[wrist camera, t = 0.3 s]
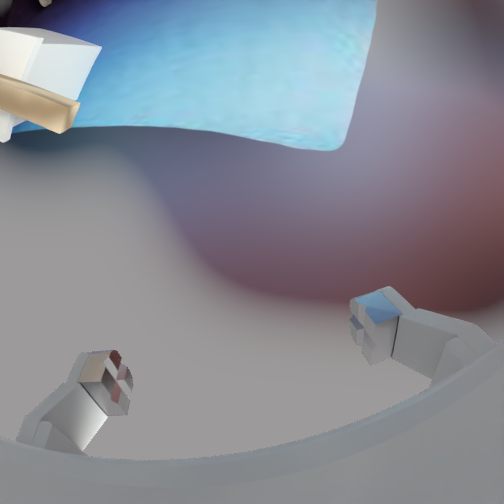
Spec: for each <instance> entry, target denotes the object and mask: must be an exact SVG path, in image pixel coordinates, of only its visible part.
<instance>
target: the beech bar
mask: <svg viewBox="0 0 504 504" xmlns="http://www.w3.org/2000/svg"><path fill="white" fill-rule="evenodd" d="M79 106H80V103H79V102H76V101H74V100H72V99H69V98H66V97H64V96H61V95H59V94H56V93H54V92H51V91H48V90H46V89H43V88H40V87H38V86H35V85H32V84H29V83H26V82H24V81H21V80H18V79H15V78H12V77H9V76H6V75H3V74H0V109H1V110H4V111H6V112H9V113H11V114H14V115H16V116H18V117H21V118H23V119H26V120H28V121H30V122H33V123H35V124H38V125H40V126H42V127H45V128H47V129H50V130H52V131H54V132H56V133H59V134H60V133H62V132H64V131H65V130H67V129H69V128H70V127H72V124H73V121H74V118H75V116H76V113H77V111H78V108H79Z"/></svg>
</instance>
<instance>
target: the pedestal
mask: <svg viewBox="0 0 504 504" xmlns="http://www.w3.org/2000/svg"><path fill="white" fill-rule="evenodd" d="M101 48H102V47H101V46H98V45H95V44H92V43H89V42H86V41H83V40H80V39H77V38H73V37H70V36H67V35H63V34H60V33H56V32H52V31H48V30H44V29H39V28H13V27H6V28H0V74H3V75H6V76H9V77H12V78H15V79H18V80H21V81H24V82H26V83H29V84H32V85H35V86H38V87H40V88H43V89H46V90H48V91H51V92H54V93H56V94H59V95H61V96H64V97H66V98H69V99H72V100H77V98H78V96H79V94H80V91H81V89H82V87H83V84H84V82H85V80H86V78H87V76H88V74H89V72H90V70H91V68H92V66H93V64H94V62H95V60H96V58H97V56H98V54H99V52H100V50H101ZM24 121H26V119H23V118H21V117H18V116H16V115H14V114H11V113H9V112H6V111H4V110H1V109H0V141H1V142H3V143H4V142H6V141H7V140H9V139H10V136H11V132H12V127H14V126H16V125H18V124H20V123H22V122H24Z"/></svg>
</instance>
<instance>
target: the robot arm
mask: <svg viewBox="0 0 504 504" xmlns="http://www.w3.org/2000/svg"><path fill="white" fill-rule="evenodd" d="M350 310H351V312H352V313H353V315H352V317H351V318H350V331H351V335H352V338H353V340H354V341H355V343H356V344H357V345H359V346H362V354H363V355H364V357H365V358H366V360H367V361H368V363H369V364H370V365H373V364H375V363H378V362H381V361H384V360H386V359H389V358H391V357H392V359H394V360H396V361H398V362H399V363H401V364H403V365H405V366H407V367H409V368H411V369H413V370H415V371H417V372H419V373H421V374H423V375H424V376H427V377H429V378H431V379H432V382H431V384H430V386H429V388H428V389H426V390H424V391H422V392H420V393H419V394H417V395H415V396H413V397H411V398H409V399H407V400H405V401H403V402H401V403H399V404H396V405H395V406H392V407H390V408H388V409H385V410H383V411H381V412H378V413H376V414H374V415H371V416H369V417H366V418H364V419H361V420H359V421H356V422H354V423H351V424H348V425H345V426H343V427H340V428H337V429H334V430H331V431H328V432H325V433H321V434H318V435H315V436H311V437H308V438H305V439H301V440H297V441H293V442H289V443H285V444H281V445H277V446H272V447H267V448H263V449H257V450H253V451H247V452H241V453H234V454H227V455H220V456H211V457H202V458H189V459H173V460H172V459H170V460H130V459H113V458H101V457H92V456H88V455H87V454H86V453H84V452H83V450H84V449H85V447H86V446H87V444H88V443H89V442H90V440H91V439H92V438H93V436H94V435H95V434H96V432H97V430H99V428H100V427H101V426H102V424H103V423H104V422H105V420H106V419H107V418H108V417H107V416H119V415H127V414H128V409H129V404H130V400H129V398H128V397H127V396H128V395H129V394H130V393H131V392H132V388H133V380H132V375H131V373H130V370H129V369H128V367H127V366H125V365H124V364H122V363H121V359H122V358H121V356H120V354H119V353H118V351H116V350H106V351H94V352H84V353H80V354H79V355H78V357H77V359H76V361H75V363H74V365H73V368H72V370H71V372H70V375H69V377H68V379H67V381H66V383H63V384H61V385H60V386H59V387H58V388H57V389H56V390H55V391H54V392H52V393H51V394H50V395H49V396H48V397H47V398H46V399H44V400H43V401H42V402H41V403H40V404H39V405H38V406H37V407H35V408H34V409H33V410H32V411H31V412H30V413H29V414H28V415H26V416H25V418H24V420H23V423H22V425H21V428H20V431H19V433H18V436H17V438H16V441H13V440H10V439H6V438H3V437H0V504H504V338H503V339H502V340H501V341H500V342H498V343H497V344H496V343H495V342H494V341H493V340H492V339H491V338H490V337H489V336H487V335H486V334H485V333H484V332H483V331H482V330H481V329H480V328H479V327H478V326H477V325H476V324H473V323H469V322H466V321H462V320H458V319H455V318H451V317H448V316H444V315H440V314H437V313H434V312H430V311H426V310H423V309H420V308H419V309H416V310H415V309H414V308H413V307H412V306H411V305H410V304H409V303H408V302H407V301H406V300H405V299H404V298H403V297H402V296H401V295H400V294H399V293H398V292H396V291H395V290H394V289H393V288H392V287H390V286H388V287H385V288H382V289H380V290H377V291H375V292H372V293H369V294H366V295H363V296H360V297H356V298H353V299H351V301H350Z"/></svg>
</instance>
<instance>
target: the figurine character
mask: <svg viewBox="0 0 504 504" xmlns="http://www.w3.org/2000/svg"><path fill="white" fill-rule="evenodd" d="M39 2H40V4H41V5H42V6H43V7H46V6H48V5H49V4H50V3H51V0H39Z"/></svg>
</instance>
